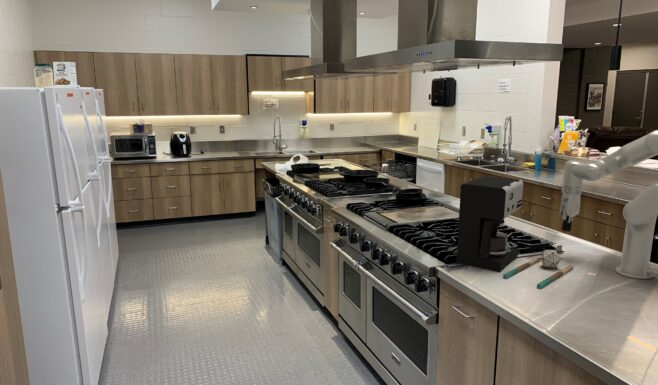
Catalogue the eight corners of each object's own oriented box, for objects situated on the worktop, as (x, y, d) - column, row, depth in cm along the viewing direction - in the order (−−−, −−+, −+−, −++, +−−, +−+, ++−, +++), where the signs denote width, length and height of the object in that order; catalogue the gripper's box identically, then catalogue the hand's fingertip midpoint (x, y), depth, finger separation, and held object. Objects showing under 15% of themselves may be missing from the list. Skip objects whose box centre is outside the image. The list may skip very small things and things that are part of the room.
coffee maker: (498, 275, 192) (504, 189, 185) (451, 265, 204) (456, 184, 197) (519, 257, 214) (525, 179, 207) (476, 248, 226) (480, 174, 218)
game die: (550, 274, 203) (562, 254, 204) (557, 274, 195) (570, 254, 196) (531, 262, 205) (543, 243, 206) (537, 262, 196) (550, 242, 197)
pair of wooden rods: (572, 269, 199) (573, 265, 199) (540, 289, 179) (541, 285, 179) (536, 260, 210) (537, 257, 209) (502, 278, 190) (503, 274, 190)
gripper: (573, 193, 198) (568, 236, 202) (587, 188, 208) (581, 229, 212) (555, 190, 203) (550, 232, 207) (569, 185, 213) (564, 225, 217)
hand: (566, 230), depth 210 cm, fingers closed
